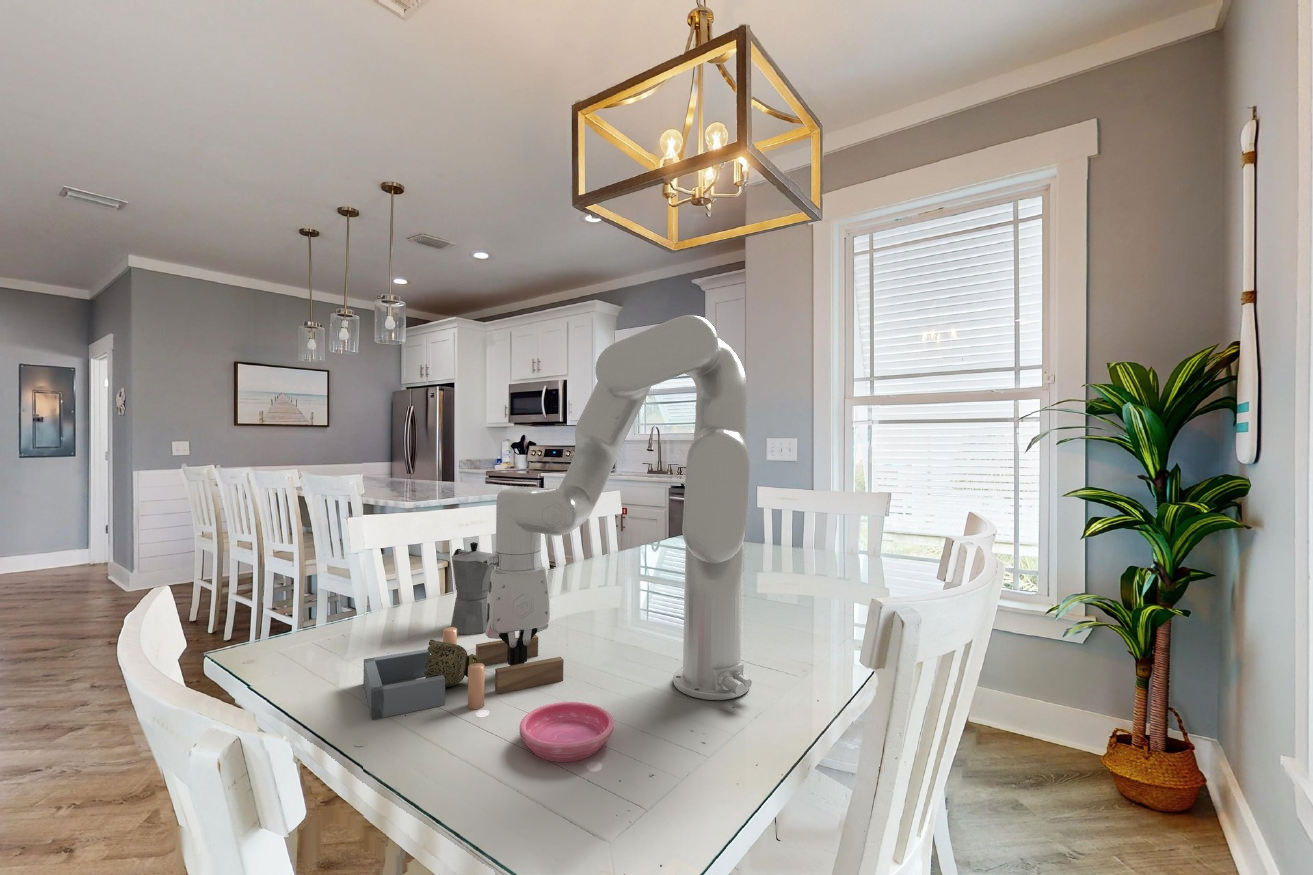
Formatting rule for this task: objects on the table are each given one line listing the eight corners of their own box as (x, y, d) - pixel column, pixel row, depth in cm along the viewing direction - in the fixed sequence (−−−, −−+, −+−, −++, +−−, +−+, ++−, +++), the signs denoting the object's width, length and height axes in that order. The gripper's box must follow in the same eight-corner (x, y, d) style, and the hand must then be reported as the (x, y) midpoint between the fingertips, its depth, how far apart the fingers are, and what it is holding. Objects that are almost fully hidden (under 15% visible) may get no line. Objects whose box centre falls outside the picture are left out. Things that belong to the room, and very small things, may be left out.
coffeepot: (508, 630, 125) (510, 544, 124) (466, 641, 118) (467, 549, 118) (473, 613, 136) (475, 534, 136) (433, 622, 129) (434, 538, 129)
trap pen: (444, 704, 91) (445, 678, 91) (371, 719, 85) (372, 691, 85) (428, 672, 103) (428, 648, 103) (363, 683, 98) (363, 659, 98)
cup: (471, 684, 102) (422, 682, 99) (478, 639, 103) (429, 636, 101) (473, 695, 95) (419, 694, 92) (480, 646, 96) (428, 644, 94)
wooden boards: (563, 680, 100) (563, 659, 100) (497, 693, 95) (497, 671, 95) (535, 653, 112) (535, 634, 112) (475, 663, 107) (476, 644, 107)
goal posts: (485, 707, 90) (486, 667, 90) (469, 710, 89) (470, 670, 89) (454, 659, 108) (455, 626, 108) (441, 661, 107) (441, 628, 107)
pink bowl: (569, 713, 89) (570, 692, 89) (632, 742, 81) (632, 718, 81) (499, 746, 79) (500, 722, 79) (563, 782, 72) (563, 756, 72)
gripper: (480, 570, 96) (478, 684, 96) (567, 560, 104) (566, 666, 104) (468, 561, 102) (467, 668, 103) (551, 553, 110) (550, 652, 110)
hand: (517, 667), depth 103 cm, fingers closed
